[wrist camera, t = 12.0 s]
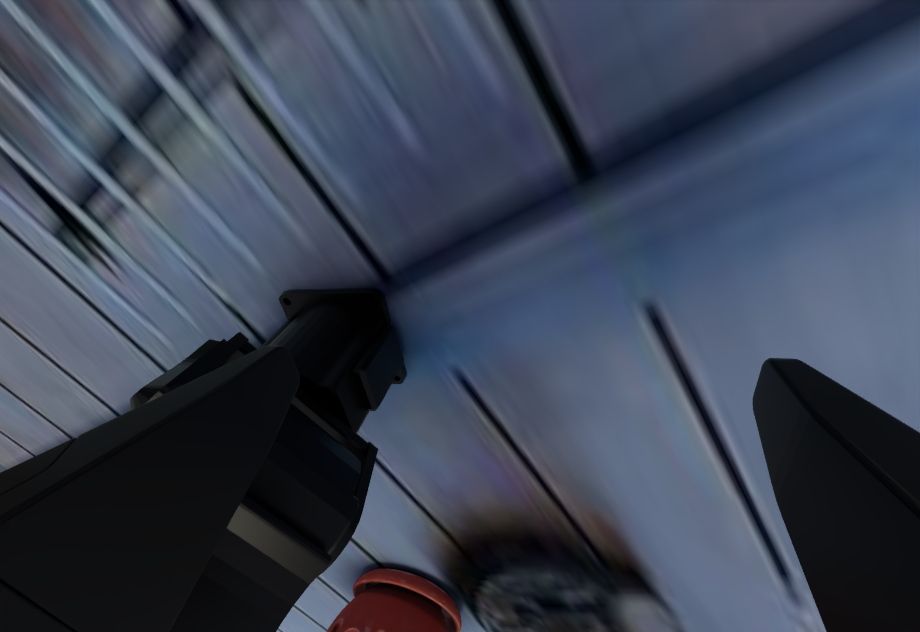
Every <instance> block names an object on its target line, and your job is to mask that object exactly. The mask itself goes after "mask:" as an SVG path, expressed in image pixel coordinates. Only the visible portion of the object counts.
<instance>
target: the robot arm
mask: <svg viewBox="0 0 920 632" xmlns="http://www.w3.org/2000/svg"><path fill="white" fill-rule="evenodd" d="M371 297H374V298H375V299H376V301H374V300H373V299H372V298H371ZM287 298H288V299H289V300H290V301H289V300H288V299H287ZM279 300H280V303H281V305H282V308H283V310H284V312H285V314H286V317H287V319H288V321H287V322H286V323H285V324H284V325H283V326H282V327H281V328H280V329H278V330H277V331H276V332H275V333H274V334H273V335H272V336H271V337H270V338H269V339H268V340H267V341H266V342H265V343H264V344H263V345H262V346H261V347H260V348H259V349H256V348H255V347H254V346H253V345H252V344H250V343H249V342H248V340H249V339H248V338H246V337H245V336H244V335H243V334H242V333H241V332H239V333H237V334H236V335H235V336H234V337H232V338H231V339H230V340H229V341H228V342H227V341H226V340H225V339H223V340H222V341H215V340H210V339H209V340H208V341H207V342H206V343H205V344H203V345H202V346H201V347H200V348H198V349H197V350H196V351H195V352H194V353H192V354H191V355H190V356H189V357H187V358H186V359H185V360H183V361H182V362H181V363H179V364H178V365H176V366H175V367H173V368H172V369H170V370H169V371H167V372H166V373H164V374H163V375H161V376H160V377H158V378H156V379H155V380H153V381H152V382H150V383H149V384H147V385H146V386H144V387H143V388H142V389H140V390H139V391H138V392H137V393H136V394H135V395H133V396H132V397H131V399H130V411H129V412H127V413H125V414H123V415H121V416H119V417H117V418H115V419H112V420H110V421H108V422H106V423H104V424H102V425H100V426H98V427H96V428H94V429H92V430H90V431H88V432H86V433H83V434H81V435H80V436H79V437H78V438H73V439H71V440H69V441H67V442H65V443H63V444H61V445H58V446H56V447H54V448H52V449H50V450H48V451H46V452H44V453H42V454H40V455H37V456H35V457H33V458H31V459H29V460H27V461H25V462H23V463H21V464H18V465H16V466H14V467H12V468H10V469H8V470H5V471H3V472H1V473H0V632H276V631H277V629H278V628H279V626H280V624H281V623H282V621H283V620H284V618H285V617H286V615H287V614H288V612H289V611H290V610H291V608H292V607H293V605H294V604H295V603H296V601H297V600H298V599H299V598H300V596H301V595H302V594H303V592H304V591H305V590H306V589H307V587H308V586H309V585H310V584H311V583H312V582H313V581H314V579H315V578H316V577H317V576H319V575H320V574H322V573H323V572H324V571H325V570H326V569H327V568H328V567H329V566H330V565H331V564H332V563H333V562H334V561H335V560H336V559H337V557H338V556H339V555H340V554H341V552H342V551H343V549H344V548H345V547H346V545H347V544H348V542H349V540H350V539H351V537H352V535H353V534H354V532H355V530H356V527H357V525H358V523H359V521H360V518H361V515H362V511H363V507H364V503H365V499H366V495H367V491H368V487H369V483H370V479H371V475H372V471H373V467H374V463H375V459H376V455H377V451H378V448H376V447H375V446H374V445H373V444H372V443H370V442H366V441H365V440H364V439H363V438H362V437H360V436H359V435H358V434H357V432H358V430H359V428H360V427H361V425H362V423H363V421H364V419H365V418H366V416H367V414H368V412H369V411H375V410H376V409H377V408H378V407H379V405H380V404H381V402H382V400H383V398H384V396H385V394H386V393H387V391H388V389H389V387H390V385H391V384H401V383H403V381H404V380H405V378H406V372H405V368H404V365H403V362H404V359H403V355H402V352H401V348H400V345H399V341H398V338H397V335H396V331H395V328H394V326H393V325H392V324H391V321H390V317H389V314H388V310H387V307H386V304H385V300H384V297H383V295H382V293H381V292H380V291H378V290H375V289H354V290H305V291H285V292H284V293H283V294H282V295H281V296H280V297H279ZM397 375H398V376H397ZM753 411H754V415H755V419H756V423H757V427H758V431H759V435H760V439H761V443H762V447H763V451H764V455H765V459H766V463H767V467H768V471H769V475H770V479H771V483H772V487H773V490H774V494H775V498H776V501H777V504H778V507H779V509H780V512H781V515H782V518H783V520H784V523H785V525H786V528H787V531H788V533H789V536H790V538H791V541H792V544H793V546H794V549H795V551H796V554H797V556H798V559H799V562H800V564H801V567H802V569H803V572H804V575H805V577H806V580H807V582H808V585H809V587H810V590H811V593H812V595H813V598H814V600H815V603H816V606H817V608H818V611H819V613H820V616H821V618H822V621H823V624H824V626H825V629H826V631H827V632H920V433H919V432H918V431H916V430H914V429H913V428H911V427H909V426H908V425H906V424H905V423H903V422H901V421H900V420H898V419H896V418H895V417H893V416H891V415H890V414H888V413H886V412H885V411H883V410H882V409H880V408H878V407H877V406H875V405H873V404H872V403H870V402H868V401H867V400H865V399H863V398H862V397H860V396H858V395H857V394H855V393H854V392H852V391H850V390H849V389H847V388H845V387H844V386H842V385H840V384H839V383H837V382H835V381H834V380H832V379H831V378H829V377H827V376H826V375H824V374H822V373H821V372H819V371H817V370H816V369H814V368H812V367H811V366H809V365H807V364H806V363H804V362H802V361H800V360H798V359H785V358H769V359H767V360H766V361H765V362H764V363H763V365H762V368H761V371H760V375H759V378H758V382H757V385H756V388H755V392H754V395H753Z"/></svg>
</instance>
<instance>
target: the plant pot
mask: <svg viewBox="0 0 920 632" xmlns="http://www.w3.org/2000/svg"><path fill="white" fill-rule="evenodd" d="M353 593H354V597H355V598H354V599H353V600H352V601H351V602H350V603H349V604H348V605H347V606H346V607H345V608H344V609H343V610H342V611H341V612H340V614H339V615H338V616H337V617H336V619H335V620H334V621H333V623H332V624H331V626H330V627H329V628H328V630H327V632H460V630H461V617H460V613H459V610H458V608H457V606H456V604H455V603H454V601H453V600H452V599H451V597H450V596H449V595H448V594H447V593H446V592H445V591H443V590H442V589H441V588H440V587H438V586H437V585H435V584H434V583H432V582H430V581H429V580H427V579H425V578H422V577H420V576H417V575H415V574H412V573H408V572H405V571H401V570H396V569H385V568H384V569H376V570H372V571H369V572H367V573H365V574H364V575H362V576H361V577H360V578H359V579H358V580H357V581H356V582H355V584H354V587H353Z"/></svg>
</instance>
